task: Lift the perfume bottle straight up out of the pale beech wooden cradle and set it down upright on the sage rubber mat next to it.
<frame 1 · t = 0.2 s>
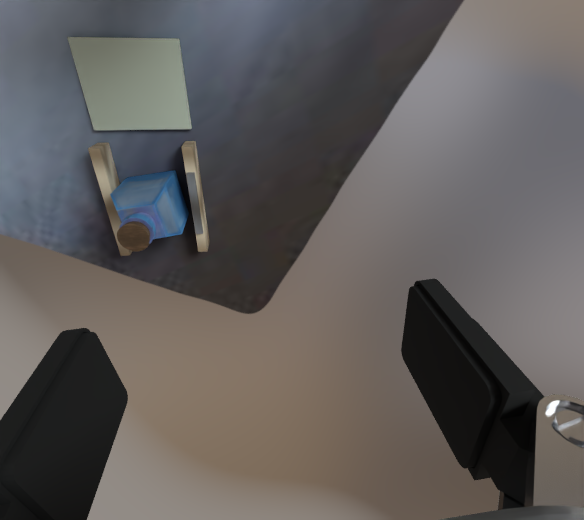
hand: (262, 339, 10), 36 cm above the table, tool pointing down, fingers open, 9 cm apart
mat: (135, 86, 37), on the table
perfume bottle: (159, 195, 44), on the table
cradle: (159, 196, 44), on the table
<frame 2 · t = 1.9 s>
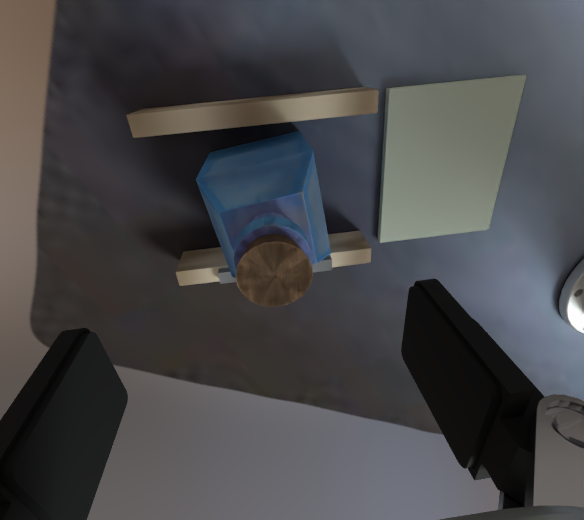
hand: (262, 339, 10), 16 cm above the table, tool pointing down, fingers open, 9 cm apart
mat: (441, 165, 24), on the table
perfume bottle: (265, 184, 24), on the table
cradle: (265, 185, 24), on the table
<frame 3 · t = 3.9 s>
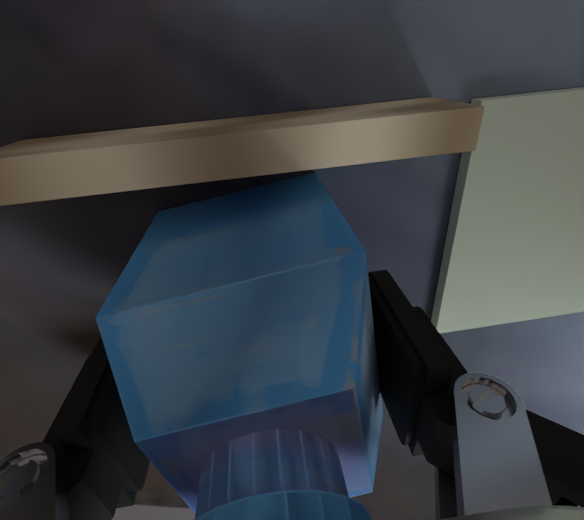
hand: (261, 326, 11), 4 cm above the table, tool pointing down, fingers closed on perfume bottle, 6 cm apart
mat: (541, 222, 15), on the table
perfume bottle: (257, 256, 14), on the table, touching gripper
cradle: (257, 259, 14), on the table
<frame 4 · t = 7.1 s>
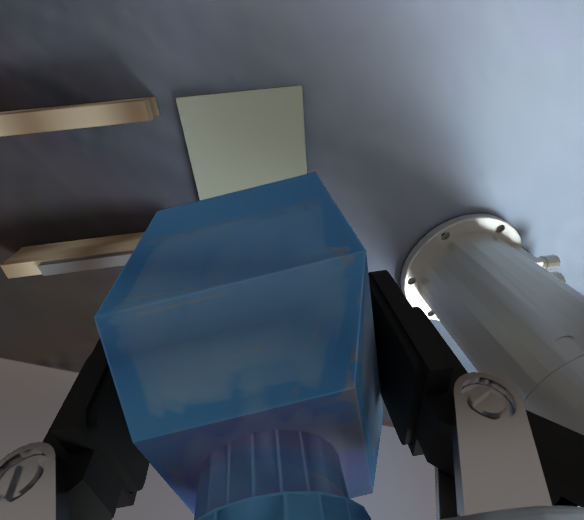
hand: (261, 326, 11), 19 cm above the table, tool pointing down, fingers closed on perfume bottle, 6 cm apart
mat: (250, 166, 27), on the table
perfume bottle: (257, 256, 14), point 15 cm above the table, touching gripper
cradle: (86, 185, 26), on the table
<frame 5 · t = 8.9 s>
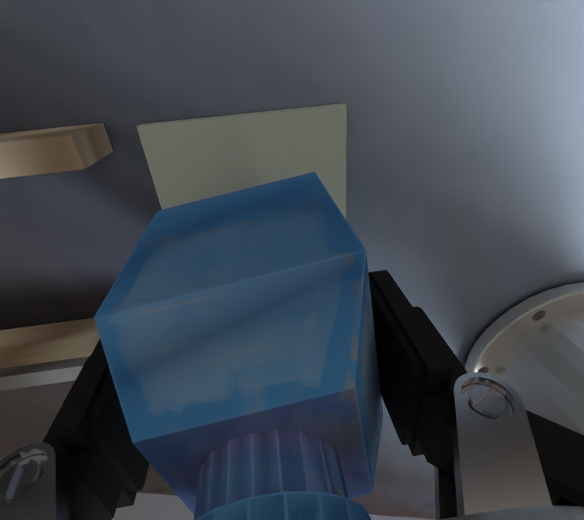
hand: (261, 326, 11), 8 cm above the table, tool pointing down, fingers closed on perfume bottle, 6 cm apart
mat: (259, 226, 17), on the table
perfume bottle: (257, 256, 14), point 3 cm above the table, touching gripper
cradle: (4, 257, 17), on the table
when the fingers open (6 cm above the table, at t = 10.3 s): perfume bottle drops 1 cm, resting on mat.
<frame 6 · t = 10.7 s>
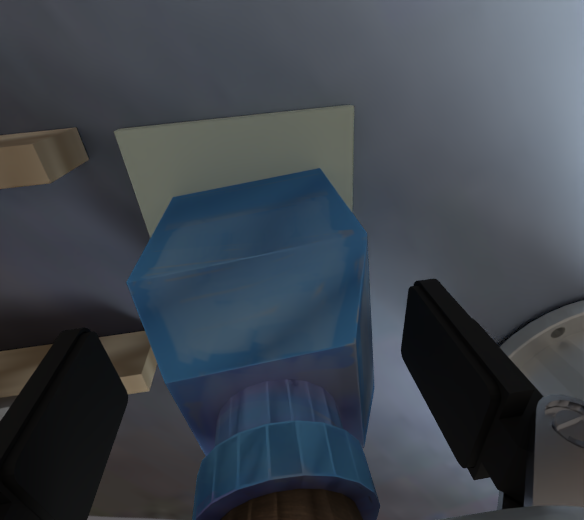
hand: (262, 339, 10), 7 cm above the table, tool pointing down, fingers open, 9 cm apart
mat: (256, 240, 16), on the table
perfume bottle: (262, 244, 15), resting on mat
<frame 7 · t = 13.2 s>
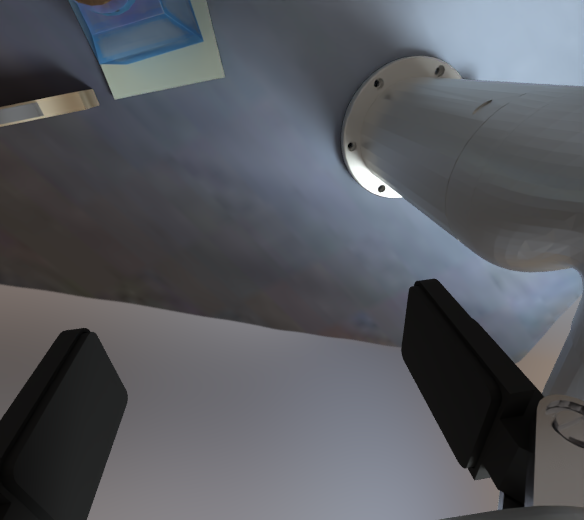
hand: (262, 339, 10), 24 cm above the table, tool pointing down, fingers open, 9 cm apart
mat: (144, 5, 24), on the table
perfume bottle: (146, 4, 24), resting on mat
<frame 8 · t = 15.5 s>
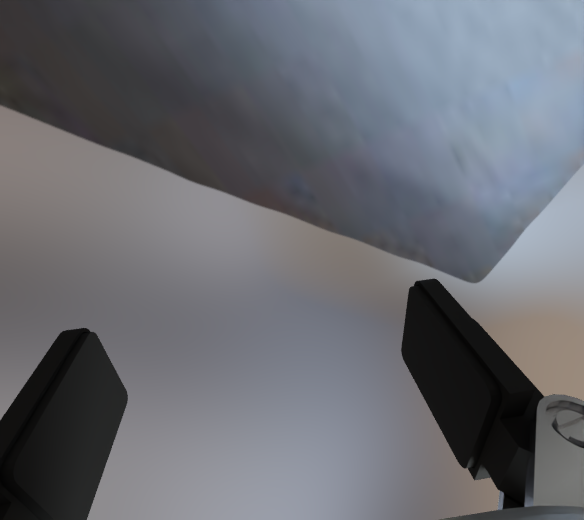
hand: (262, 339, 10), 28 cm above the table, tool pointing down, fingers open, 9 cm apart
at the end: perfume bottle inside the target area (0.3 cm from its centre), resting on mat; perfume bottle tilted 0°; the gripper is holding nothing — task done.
